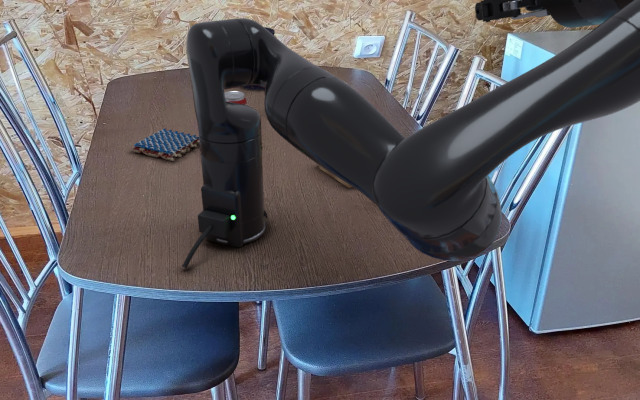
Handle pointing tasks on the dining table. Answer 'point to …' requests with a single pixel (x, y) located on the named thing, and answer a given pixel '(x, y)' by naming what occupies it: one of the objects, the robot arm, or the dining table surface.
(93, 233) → the dining table surface
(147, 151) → the woven mat
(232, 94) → the soda can
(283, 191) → the dining table surface
